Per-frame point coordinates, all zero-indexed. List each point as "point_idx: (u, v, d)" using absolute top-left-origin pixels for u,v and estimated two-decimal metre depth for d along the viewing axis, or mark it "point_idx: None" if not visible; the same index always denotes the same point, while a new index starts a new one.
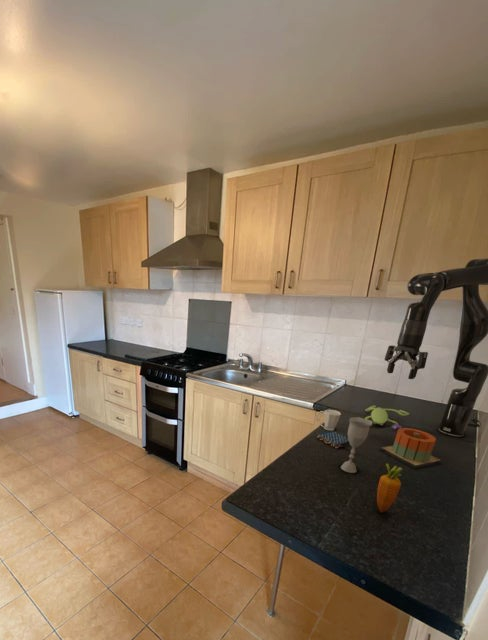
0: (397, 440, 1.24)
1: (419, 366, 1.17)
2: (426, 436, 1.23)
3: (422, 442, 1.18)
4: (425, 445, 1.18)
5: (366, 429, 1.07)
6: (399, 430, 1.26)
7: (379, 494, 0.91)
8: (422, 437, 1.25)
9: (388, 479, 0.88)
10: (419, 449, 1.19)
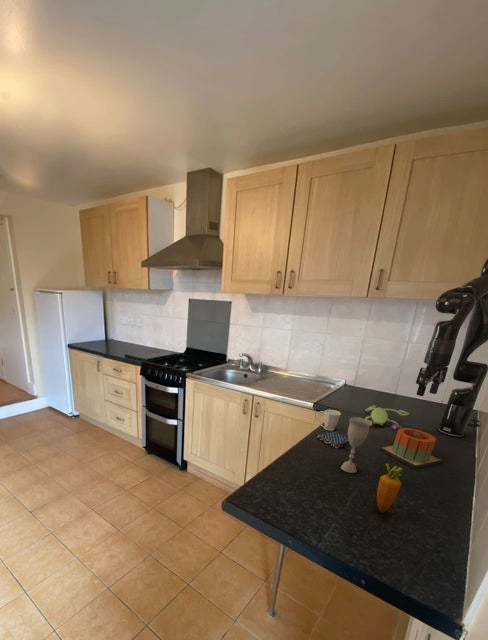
0: (397, 440, 1.24)
1: None
2: (426, 436, 1.23)
3: (422, 442, 1.18)
4: (425, 445, 1.18)
5: (366, 429, 1.07)
6: (399, 430, 1.26)
7: (379, 494, 0.91)
8: (422, 437, 1.25)
9: (388, 479, 0.88)
10: (419, 449, 1.19)
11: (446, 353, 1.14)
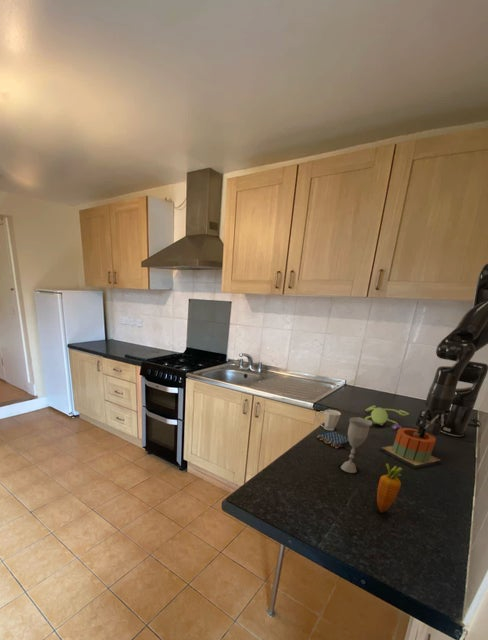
0: (397, 440, 1.24)
1: None
2: (426, 436, 1.23)
3: (422, 442, 1.18)
4: (425, 445, 1.18)
5: (366, 429, 1.07)
6: (399, 430, 1.26)
7: (379, 494, 0.91)
8: None
9: (388, 479, 0.88)
10: (419, 449, 1.19)
11: (446, 398, 1.17)
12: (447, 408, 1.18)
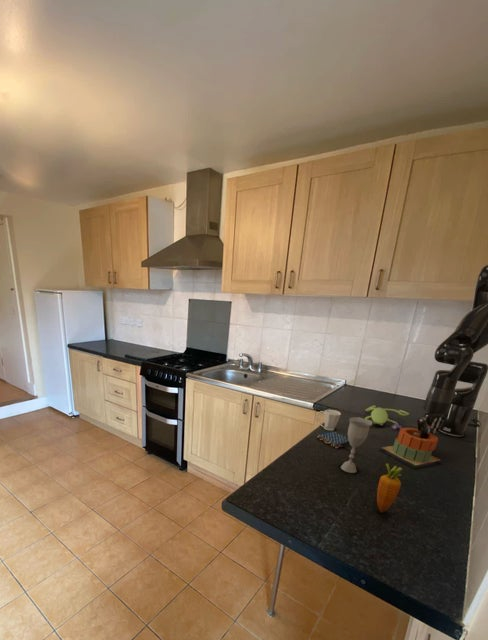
0: (399, 439, 1.25)
1: None
2: (428, 436, 1.24)
3: (424, 441, 1.18)
4: (427, 444, 1.18)
5: (366, 429, 1.07)
6: (401, 430, 1.26)
7: (379, 494, 0.91)
8: None
9: (388, 479, 0.88)
10: (421, 448, 1.19)
11: (444, 402, 1.17)
12: (445, 412, 1.19)
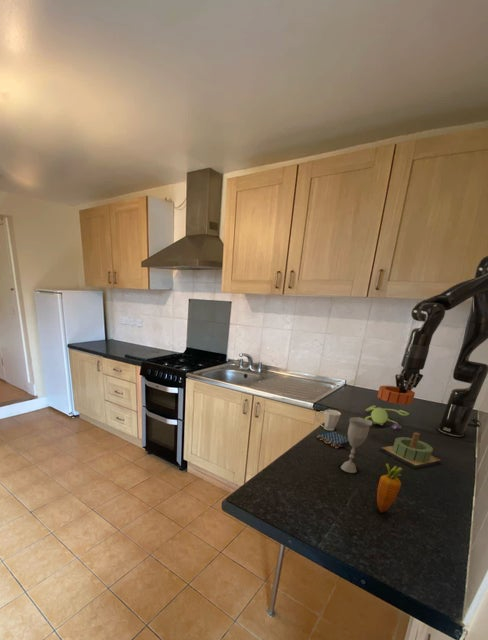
0: (379, 396, 1.32)
1: None
2: (406, 391, 1.31)
3: (402, 395, 1.25)
4: (404, 398, 1.26)
5: (366, 429, 1.07)
6: (381, 387, 1.34)
7: (379, 494, 0.91)
8: None
9: (388, 479, 0.88)
10: (399, 402, 1.26)
11: (419, 357, 1.25)
12: (421, 367, 1.26)
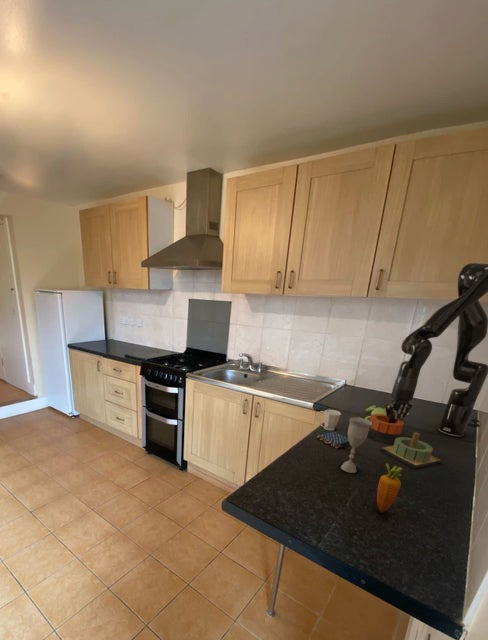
0: None
1: None
2: (396, 421, 1.36)
3: (391, 425, 1.30)
4: (394, 428, 1.30)
5: (366, 429, 1.07)
6: (372, 416, 1.38)
7: (379, 494, 0.91)
8: None
9: (388, 479, 0.88)
10: (388, 432, 1.31)
11: (408, 389, 1.30)
12: (410, 398, 1.31)
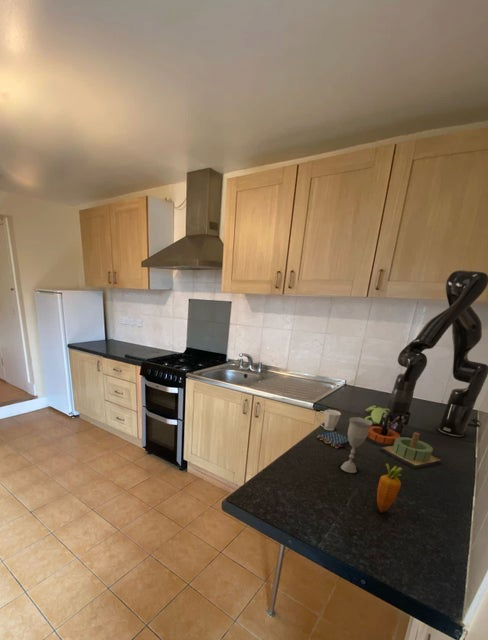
0: None
1: None
2: (392, 433, 1.38)
3: (387, 439, 1.32)
4: (390, 441, 1.32)
5: (366, 429, 1.07)
6: None
7: (379, 494, 0.91)
8: (389, 434, 1.40)
9: (388, 479, 0.88)
10: None
11: (404, 402, 1.32)
12: (406, 411, 1.33)
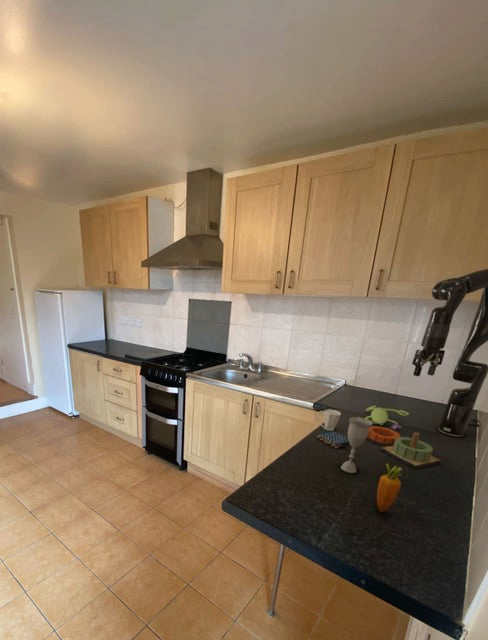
0: None
1: None
2: (392, 433, 1.38)
3: (387, 439, 1.32)
4: (390, 441, 1.32)
5: (366, 429, 1.07)
6: None
7: (379, 494, 0.91)
8: (389, 434, 1.40)
9: (388, 479, 0.88)
10: None
11: (440, 336, 1.25)
12: (441, 346, 1.26)
